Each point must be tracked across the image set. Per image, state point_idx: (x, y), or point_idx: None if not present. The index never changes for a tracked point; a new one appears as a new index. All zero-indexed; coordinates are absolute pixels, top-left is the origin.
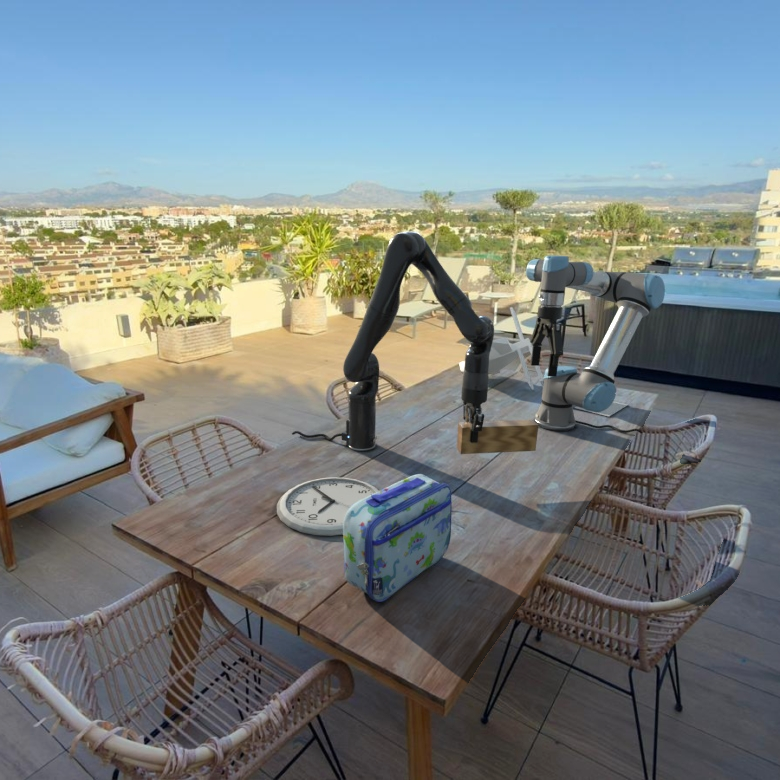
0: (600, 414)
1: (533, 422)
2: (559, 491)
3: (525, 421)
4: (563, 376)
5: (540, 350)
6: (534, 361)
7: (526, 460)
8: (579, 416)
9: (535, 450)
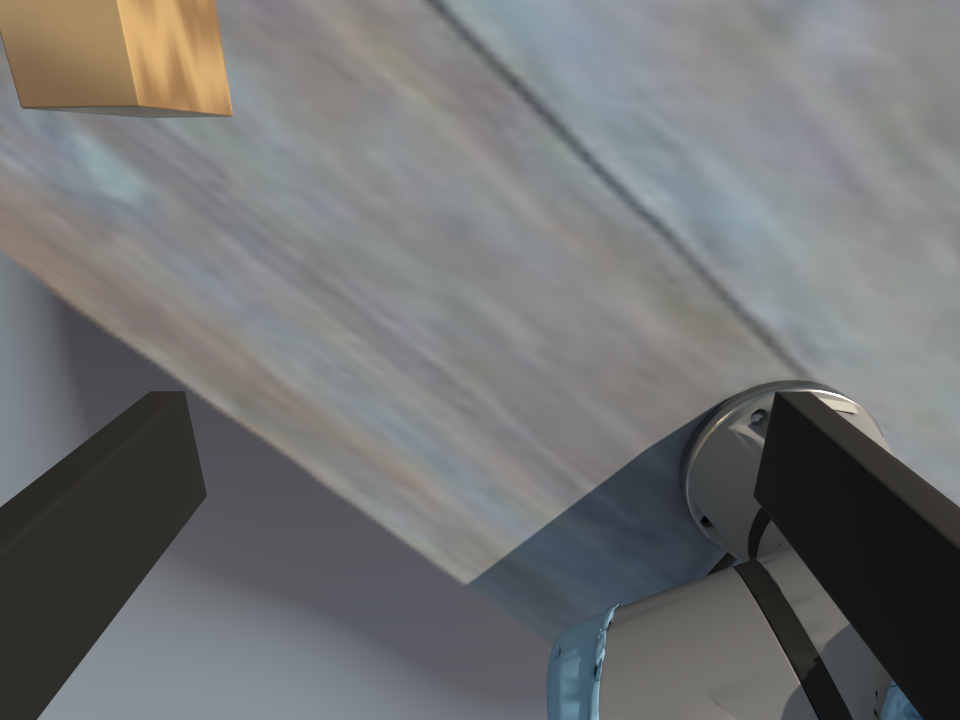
0: None
1: (71, 87)
2: (58, 179)
3: (84, 22)
4: (879, 684)
5: (913, 698)
6: (801, 461)
7: (372, 154)
8: None
9: (144, 117)
